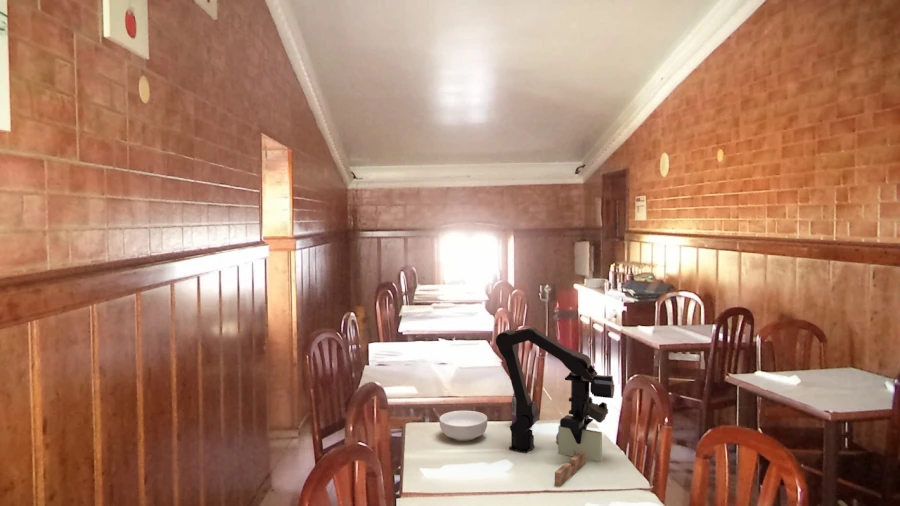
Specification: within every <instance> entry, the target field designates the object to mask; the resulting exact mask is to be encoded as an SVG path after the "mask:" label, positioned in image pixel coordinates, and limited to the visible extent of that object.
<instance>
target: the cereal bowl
mask: <svg viewBox="0 0 900 506" xmlns="http://www.w3.org/2000/svg"><path fill="white" fill-rule="evenodd" d="M439 427H440V431H441V432H442V433H443V434H444V435H445V436H447V437H449V438H451V439H454V441H458V442H470V441H473V440H474V439H476V438H479V437H480V436H482V434H484V433H485V432H486V431H487V427H488V416H487V414H485V413H482V412H480V411H473V410H454V411H449V412H445V413H443V414H442V415H440V417H439Z"/></svg>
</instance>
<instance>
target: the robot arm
mask: <svg viewBox="0 0 900 506" xmlns="http://www.w3.org/2000/svg"><path fill="white" fill-rule="evenodd" d="M525 342H530V343H532V344H534V346H537V347H539V348H540V349H541V350H543V351H545V352H546V353H548V354H550V355H552V356H553V357H555V358H556V359H558V360H559V361H560V362H561V363H562V364H563V366H565V368H566V369H567V370H569V374H567V375H566V376H565V377H564V380H565V381H570V383H571V384H570V397H568V402H570V410H568V414H567V415H565V416H563V417H562V418H561V419H560V420H559V425H560V426H561V427H564V428H570V430H571V432H572V434H573V436H574V438H575V440H576V443H577V444H580V443H581V438H582V431H583V429H587V428H588V426H589V424H590V423H592V422H593V421H595V422H597V423H602V422H603V421H605V420H606V417H607V415H608V414H609V409H608V404H607V403H606V402H604V401H602V402H601V403H599V404H598V403H594V402H593V398H592V396H590V393H591V395H593V397H597V398H604V399H605V398H606V399H607V398H608V399H613V398H614V395H615V384H614V378H613V377H614V376H613V375H600V374H598V372H597V371H596V370H595V368H594V367H593V365H592V362H591V358H590V357H589V356H588V355H587V354H585V353H583V352H580V351H578V350H575V349H570V348H568V347H566V346H564V345H562V344H561V343H559V342H558V341H556V340H554V339H553V338H551V337H549V336H548V335H546V334H545V333H543V332H541V331H540V330H538V329H537V328H536V327H534V326H530V327H527V328H523V329H517V330H513V329H506V330H504V331H502V332H499V333H498V334H497V335H496V338H495V344H496V347H497V349H498V351H499V354H500V355H501V356H502V358H503V359H504V360H505V363H506V364H505V365H506V367H507V372H508V375H509V379H510V383H511V387H512V390H513V393H514V395H515V398H516V421H515V422H514V423H513V424H512V423H511V425H510V426H509V430H510V434H511V435H510V436H511V437H510V439H511V440H510V441H511V443H510V444H511V445H509V447H508V449H509V450H513V451H517V452H521V453H522V452H523V453H528V452H530V451H531V450H532V449H534V448H535V444H534V443H535V442H534V441H535V440H534V439H535V438H534V437H535V436H534V435H533V429H531V428H533V426H534V425H535V424H536V423H537V422H538V420H539V418H540V417H539V416H540V415H539V414H540V413H541V412H540V410H539V407H538V406H539V405H538V401H537V400H535V401H533V400H532V398H531V399H530V397H531V396H530V397H529V394H530V393H529V391H528V387H527V383H526V380H525V377H524V372H523V369H522V364H521V361H520V358H519V350H520V344H521V343H525ZM528 393H529V394H528ZM587 430H588V429H587Z"/></svg>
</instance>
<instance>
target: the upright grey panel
mask: <svg viewBox="0 0 900 506" xmlns="http://www.w3.org/2000/svg"><path fill="white" fill-rule="evenodd" d="M557 429H558V430H557V431H558V432H557V433H558V442H557V444H558V447H557V449H558V450H557V451H558V452H557V453H558V455H559V454H560V455H565V456H569V457H573V456H575V455H576V454H577V453H576V452H577V451H578V452H579V451H585V460H589V461H594V462H599V463H601V462H602V460H603V458H602V457H603V432H602V431H597V430H592V429H583V431H582V438H581V443H580V444H577V443H576V440H575V438H574V436H573V434H572V432H571V430H570V428H564V427H561V426H560V424H559V425H558V428H557Z"/></svg>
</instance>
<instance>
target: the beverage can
mask: <svg viewBox="0 0 900 506" xmlns="http://www.w3.org/2000/svg"><path fill="white" fill-rule="evenodd" d="M528 394H529V397H530V399H531V400H532V398H531V393H529V392H528ZM515 421H516V398H515V395H514V392H513V393H512V398H511V425H512V424H513V423H514V422H515Z"/></svg>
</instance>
